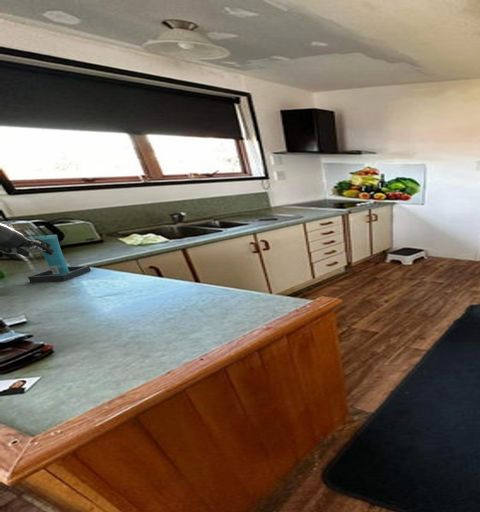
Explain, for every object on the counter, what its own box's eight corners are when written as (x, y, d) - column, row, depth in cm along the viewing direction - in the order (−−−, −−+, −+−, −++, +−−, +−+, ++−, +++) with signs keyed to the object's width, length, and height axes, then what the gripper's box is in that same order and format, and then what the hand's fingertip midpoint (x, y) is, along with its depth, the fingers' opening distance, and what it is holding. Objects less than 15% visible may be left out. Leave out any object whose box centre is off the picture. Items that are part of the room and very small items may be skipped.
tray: (30, 282, 122) (27, 276, 121) (59, 271, 134) (57, 266, 133) (64, 280, 123) (62, 275, 122) (91, 270, 135) (89, 265, 134)
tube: (74, 271, 132) (58, 233, 126) (71, 274, 128) (54, 235, 122) (52, 275, 128) (34, 235, 122) (48, 278, 124) (29, 238, 118)
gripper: (27, 225, 108) (62, 245, 122) (-20, 228, 105) (22, 248, 119) (19, 241, 105) (57, 260, 119) (-29, 244, 102) (16, 263, 116)
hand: (40, 253), depth 119 cm, fingers open, 8 cm apart
